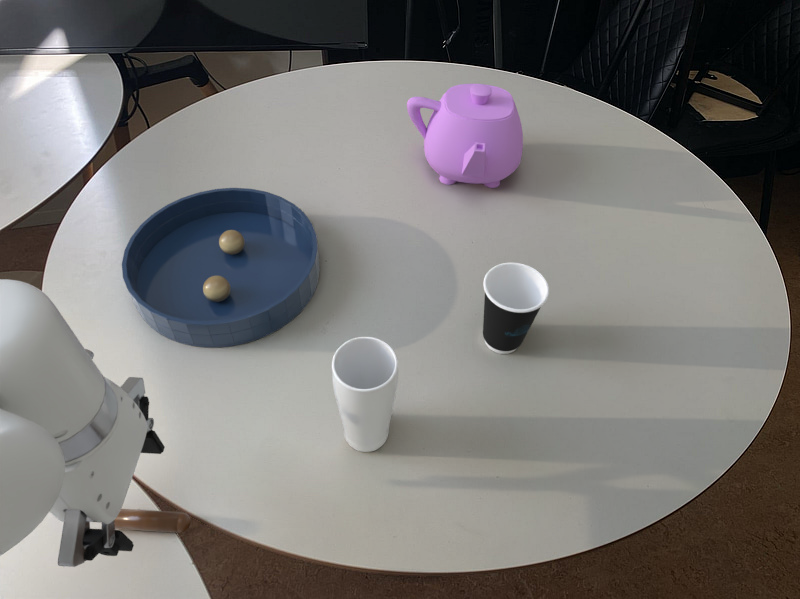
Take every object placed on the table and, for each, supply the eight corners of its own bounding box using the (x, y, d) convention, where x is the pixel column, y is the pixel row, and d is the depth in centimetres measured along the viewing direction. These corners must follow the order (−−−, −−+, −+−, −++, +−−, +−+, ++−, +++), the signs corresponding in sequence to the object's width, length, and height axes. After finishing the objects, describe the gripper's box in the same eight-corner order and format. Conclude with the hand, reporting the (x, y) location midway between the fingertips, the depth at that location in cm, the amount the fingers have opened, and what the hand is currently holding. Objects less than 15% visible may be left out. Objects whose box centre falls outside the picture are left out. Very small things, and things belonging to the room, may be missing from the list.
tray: (305, 353, 78) (301, 330, 74) (105, 341, 78) (91, 318, 75) (330, 217, 95) (328, 192, 91) (165, 207, 95) (156, 183, 91)
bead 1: (229, 308, 82) (224, 290, 79) (203, 306, 82) (197, 289, 79) (235, 288, 84) (230, 270, 81) (209, 286, 84) (204, 269, 81)
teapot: (398, 207, 97) (401, 127, 86) (407, 135, 110) (411, 57, 98) (520, 217, 96) (540, 137, 85) (515, 143, 109) (531, 65, 98)
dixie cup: (515, 374, 77) (532, 321, 69) (461, 345, 80) (471, 292, 71) (540, 333, 82) (560, 279, 73) (489, 307, 84) (501, 252, 76)
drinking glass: (402, 417, 73) (407, 345, 61) (384, 467, 68) (386, 400, 57) (349, 401, 74) (345, 327, 62) (329, 449, 70) (320, 380, 58)
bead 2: (243, 260, 88) (239, 242, 85) (219, 259, 88) (214, 241, 85) (248, 243, 90) (244, 225, 87) (224, 241, 90) (220, 223, 87)
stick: (189, 535, 63) (185, 529, 61) (104, 530, 63) (97, 524, 61) (194, 516, 64) (190, 509, 63) (111, 511, 64) (104, 504, 63)
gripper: (59, 319, 51) (125, 415, 64) (-45, 525, 40) (61, 588, 54) (147, 324, 51) (195, 419, 64) (66, 531, 40) (144, 593, 54)
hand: (134, 496), depth 59 cm, fingers open, 9 cm apart
